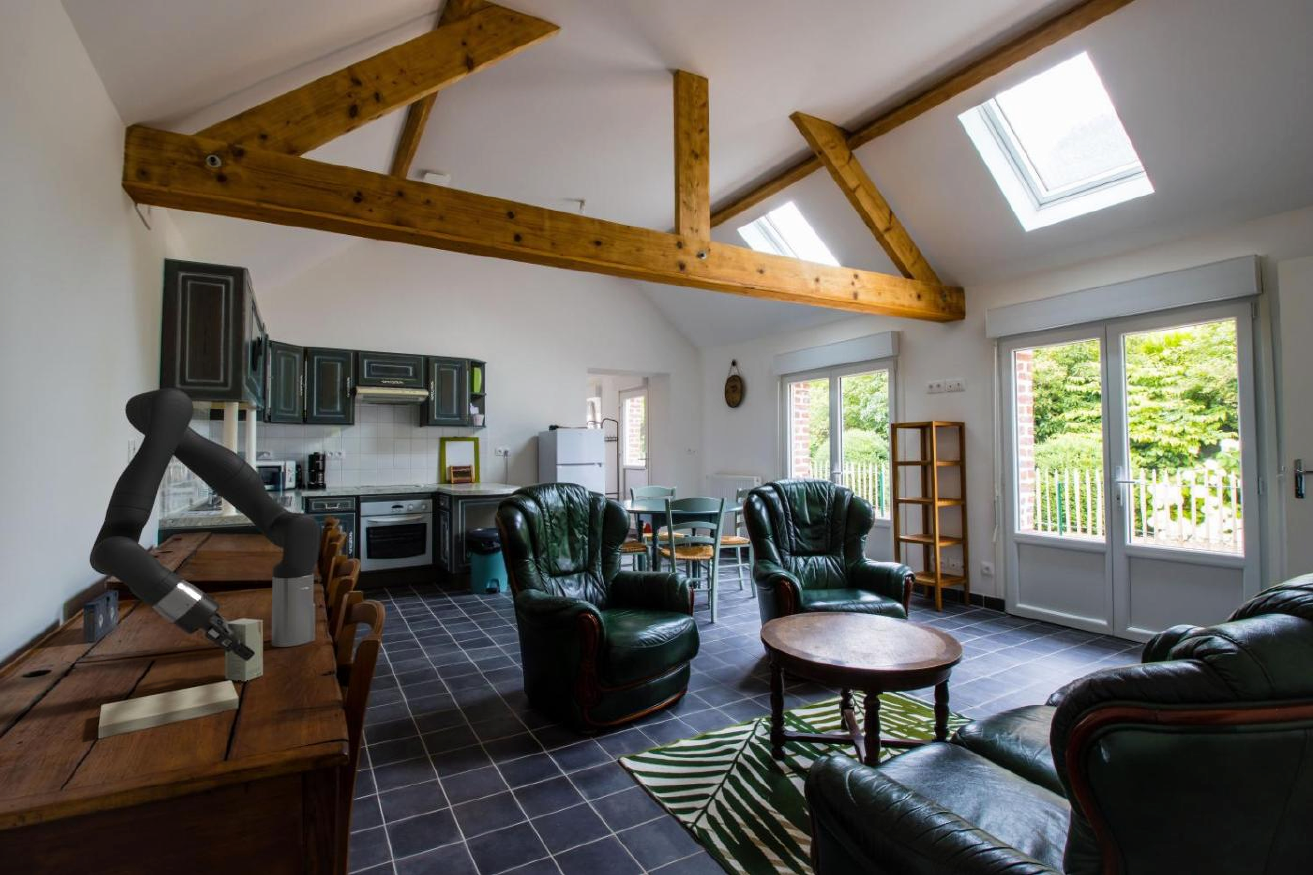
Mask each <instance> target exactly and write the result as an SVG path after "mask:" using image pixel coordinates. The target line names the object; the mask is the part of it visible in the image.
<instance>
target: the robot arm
mask: <svg viewBox="0 0 1313 875" xmlns="http://www.w3.org/2000/svg"><path fill="white" fill-rule="evenodd" d="M124 410H125V416H126V419H127V420H128V422H129V423H130V424H131V426H132V427H133V428H134V429H135V430H137V431H138V432H139V433H141V434H142V435H144V437H143V440H142V442H141V444H140V446H139V448H138V450H137V452H136V453H135V455H134V456H133V458H132V459H131V460H130V462H129V463H128V464H127V465H126V467H125V469H124V470H123V472H122V473H121V475H120V476H119V478H118V480H117V481H116V483H115V486H114V488H113V491H112V493H111V496H110V499H109V503H108V505H107V509H106V512H105V516H104V521H103V524H102V525H101V528H100V529H99V531H98V535H97V536H96V539H95V540H94V544H93V546H92V547H91V551H90V554H89V564H90V566H91V568H92V569H93V570H94V571H95V572H96V573H98V574H101V575H105V576H112V577H114V578H116V579H117V580H118V581H120V583H121V582H122V583H123V584H124V585H125V586H127V587H128V588H129V590H130V592H131V593H133V595H135V597H137V598H138V599H139V600H141V601H143V603H146V604H147V606H150V607H151V608H152V609H153V610H155V611H156V613H158V614H159V615H160V616H162V617H163V618H164V619H166V620H167V621H169V622H170V623H172V624H173V625H175V626H176V627H178V628H179V629H180V630H182V631H183V632H185V633H187V635H191V634H192V635H193V634H195V633H196V632H197V631H198V630H199V629H203V631H205V634H204V637H205V638H207V639H209V640H210V641H211V642H213V643H215V645H216V646H219V647H220V648H221V649H223V650H224V651H226V652H234V653H235V654H236V655H238V656H239V657H241V658H242V659H244V660H245V661H248V660H249V659H251V658H252V657H253V656H254V654H255V652H254V651H253V650H252V649H250V648H249V647H248V646H246V645H245V644H243V643H242V642H241V641H240V640H239V639H238V638H236V636H235V635H236V633H235V632H234V631H233V630H232V629H231V628H230V627H229V626H228V624H227V622H230V621H229V620H228V619H226V618H225V617H224V616H222V615H221V614H220V613H218V611H219V610H220V607H221V605H220V603H218V602H217V601H216V600H214V599H213V598H212V597H210V596H209V595H208V594H206V593H205V592H204V591H202V590H201V589H199V588H198V587H196V586H195V585H194V584H192V583H190V582H188V581H186V579H185V580H184V579H183V578H181V577H180V576H179V575H177V574H176V573H175V572H173V571H172V570H171V569H169V568H167V567H166V566H165V565H163V564H162V563H161V562H160V561H158V560H157V558H155V557H154V556H153V555H152V554H151V552H149V551H148V550H147V549H146V548H145V547H144V546H142V545H141V544H140V543H139V542H140V540H141V536H142V532H143V530H144V528H145V527H146V525H147V524H148V522H149V520H150V517H151V515H152V511H153V509H154V505H155V502H156V498H157V495H158V491H159V489H160V487H161V483H162V481H163V479H164V475H165V473H166V471H167V468H168V467H169V464H170V462H171V460H172V458H173V457H175V458H176V459H177V460H178V461H179V462H180V463H182V464H183V465H184V466H185V467H186V468H187V469H188V470H190V471H191V472H192V473H193V474H194V475H196V476H197V477H198V478H199V479H201V480H202V481H203V482H204V483H205V484H206V485H207V487H209V488H210V489H211V490H213V491H214V492H215V493H216V494H217V495H219V496H220V497H221V498H222V499H224V500H225V501H226V502H227V503H229V504H230V505H231V506H233V508H235V509H236V510H237V511H238V512H240V513H241V514H243V516H245V517H246V518H248V520H250V521H251V523H252V524H253V525H255V527H256V528H257V529H258V530H259V531H260V532H261V533H262V534H263V535H264V536H265V538H266V539H267V540H268V541H269V542H270V543H271V544H273V545H274V546H276V547H278V548H283V549H282V550H283V551H282V558H281V561H279V562H278V563H275V564H274V566H273V568H272V590H271V591H272V593H271V594H272V595H271V596H272V600H271V602H272V604H271V608H272V609H271V646H273V647H277V648H278V647H279V648H287V647H295V646H300V645H301V646H302V645H304V644H308V643H311V642H314V641H316V636H315V635H316V603H314V587H315V586H314V585H315V584H314V583H315V582H314V581H315V580H314V579H315V577H314V575H315V574H314V573H315V571H314V570H315V566H316V564H317V562H318V559H319V558H318V557H319V545H320V527H319V523H318V521H317V519H316V518H315V517H314V516H313V515H311V514H308V513H302V512H301V513H300V512H292V511H289V510H287V509H286V508H285V507H283V506H282V505H280V504H279V503H278V502H277V501H276V500H275V499H274V498H272V496H271V495H270V494H269V492H268V491H267V488H266V486H265V483H264V482H263V479H262V477H261V476H260V475H259V473H258V472H257V471H256V469H255V468H254V467H253V466H252V465H251V464H250V463H248V462H247V461H246V459H244V458H243V457H242V456H241V455H239V454H238V453H236V452H235V451H233V450H231V449H229V448H227V447H226V446H224V445H221V444H219V443H217V442H215V441H213V440H211V439H208V438H207V437H204V436H203V435H201V434H199V432H197V431H195V430H194V429H193V428H192V427H190V426H189V425H190V422H192V419H193V416H194V403H193V401H192V400H191V398H190V397H189V395H188V394H187V393H185V391H182V390H181V389H176V388H171V387H169V388H160V389H153V390H150V391H147V392H142V393H141V392H140V393H139V394H136V395H134V396H132V397H130V398H129V399H128V401H127V402H126V404H125V409H124ZM230 640H231V641H232V642H231V643H230V644H229V645H228V644H227V643H228V642H229V641H230Z"/></svg>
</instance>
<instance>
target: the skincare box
mask: <svg viewBox="0 0 1313 875" xmlns="http://www.w3.org/2000/svg"><path fill="white" fill-rule="evenodd" d="M263 622H264V620H263V619H255V618H245V617H243V618H239V619H234V620H232V621H229V622H227V624H228V626H229V627H230V628H231V629H232V630H233V631H234V632H235V633H236V635H235V636H236V638H238V639H239V640H240V641H241V642H242V643H243V644H245V645H246V646H248V647H249V648H250V649H252V650H253V651H254V652H255V654H254V656H253V657H252V658H251V659H249V660H248V661H245V660H244V659H242V658H241V657H239V656H238V655H236V654H235V653H234V652H226V651H225V650H224V651H225V653H224V656H225V657H224V658H225V666H224V667H225V673H224V674H225V676H224V677H225V679H226V680H229V681H230V680H231V681H238V680H241V681H240V682H248V681H250V680H253V679H256V678H258V677H262V676H263V675H264V635H263V630H264V628H263V626H264V625H263V624H264V623H263ZM231 642H232V641H231V640H230V641H229V642H228V643H227V644H228V645H229V644H230V643H231ZM247 680H248V681H247Z"/></svg>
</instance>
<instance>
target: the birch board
mask: <svg viewBox="0 0 1313 875" xmlns="http://www.w3.org/2000/svg"><path fill="white" fill-rule="evenodd" d="M237 709H239V696H238V693H237V691H236V689H235V686H234V683H233V680H230V679H229V680H226V681H220V682H214V683H209V684H205V685H199V686H195V687H190V688H189V687H188V688H183V689H179V690H173V691H168V692H167V691H166V692H164V693H157V694H153V695H147V696H143V697H136V698H132V699H125V700H122V701H121V700H120V701H115V702H110V703H104V704H101V706H100V715H99V724H98V739H102V738H108V737H113V736H117V735H118V736H119V735H123V734H127V733H130V732H132V733H133V732H134V731H135V732H136V731H140V730H145V729H149V728H153V727H158V726H163V725H167V724H172V723H173V724H174V723H178V722H181V721H187V720H191V719H195V718H200V717H204V716H209V715H214V713H215V714H219V713H224V712H228V711H227V710H229V711H232V710H237ZM223 711H224V712H223Z"/></svg>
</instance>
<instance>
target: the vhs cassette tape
mask: <svg viewBox="0 0 1313 875" xmlns="http://www.w3.org/2000/svg"><path fill="white" fill-rule="evenodd" d="M82 608H83V609H82V611H83V612H82V613H83V625H82V626H83V628H82V630H83V634H82V640H83V641H82V642H83V643H85V644H93V643H97V642H98V641H99V640H101V639H102V638H103V637H104V636H106V635H107V634H109V632H111V631H112V630H114V629H116V627H117V626H119V619H118V617H119V590H108V591H107V592H104V593H102V594H101V595H99V596H97V597H95V598H93V599H92V600H90V601H89V602H87V603H85V604H83V607H82Z"/></svg>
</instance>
